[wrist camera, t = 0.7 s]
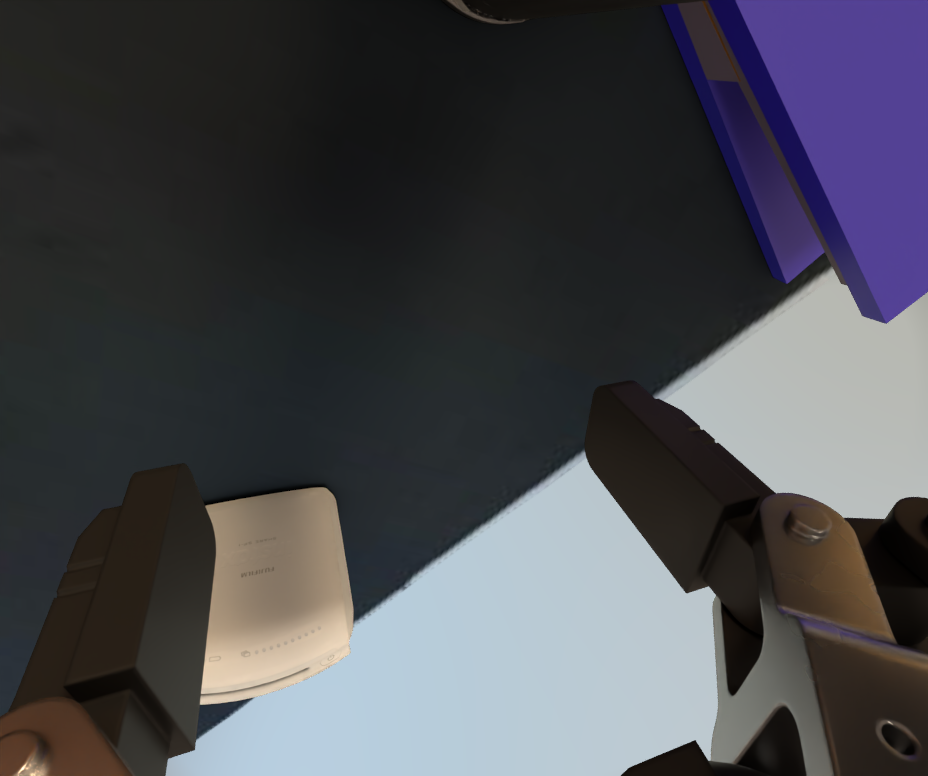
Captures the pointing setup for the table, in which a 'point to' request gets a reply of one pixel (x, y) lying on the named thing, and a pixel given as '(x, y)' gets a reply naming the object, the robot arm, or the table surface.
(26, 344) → the table surface
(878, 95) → the stapler
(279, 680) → the photo printer
